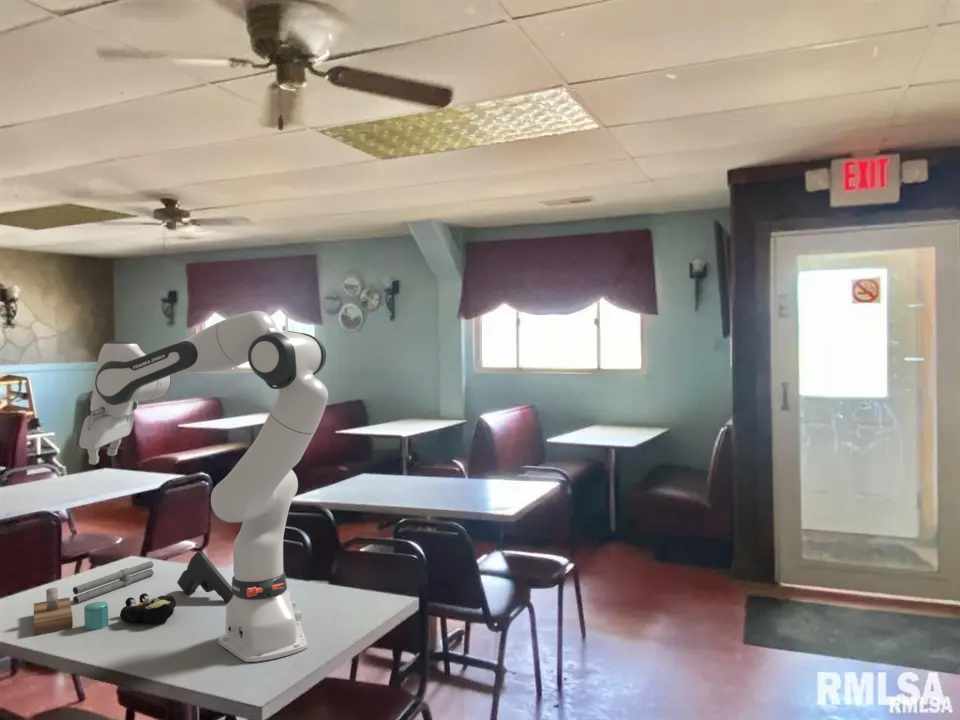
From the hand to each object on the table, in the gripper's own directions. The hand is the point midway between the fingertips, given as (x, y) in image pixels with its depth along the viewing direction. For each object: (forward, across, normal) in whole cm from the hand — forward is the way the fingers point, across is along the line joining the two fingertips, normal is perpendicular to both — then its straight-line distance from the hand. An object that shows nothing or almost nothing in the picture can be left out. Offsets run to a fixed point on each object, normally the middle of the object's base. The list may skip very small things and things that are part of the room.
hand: (102, 459), depth 182 cm
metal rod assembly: (+43, +22, 0) cm, 49 cm away
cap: (+39, -6, -7) cm, 40 cm away
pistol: (+37, +13, -27) cm, 48 cm away
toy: (+38, -2, -18) cm, 42 cm away
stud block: (+42, -2, +5) cm, 43 cm away
